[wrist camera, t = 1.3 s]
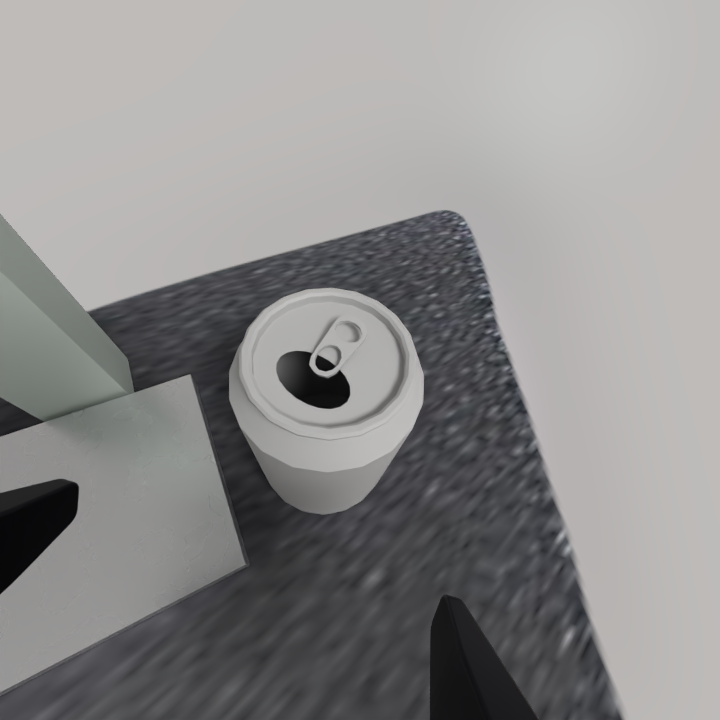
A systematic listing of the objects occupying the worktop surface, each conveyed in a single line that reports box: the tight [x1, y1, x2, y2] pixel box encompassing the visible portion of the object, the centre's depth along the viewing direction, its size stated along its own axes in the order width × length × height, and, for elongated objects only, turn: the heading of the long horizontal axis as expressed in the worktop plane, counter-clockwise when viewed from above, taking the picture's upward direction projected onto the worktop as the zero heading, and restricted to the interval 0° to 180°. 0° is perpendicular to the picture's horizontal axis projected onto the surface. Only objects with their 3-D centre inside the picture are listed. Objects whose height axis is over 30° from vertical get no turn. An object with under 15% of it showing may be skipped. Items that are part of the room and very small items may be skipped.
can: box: [229, 288, 424, 515], centre depth 17 cm, size 8×8×12 cm
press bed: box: [0, 374, 250, 696], centre depth 18 cm, size 12×12×2 cm
